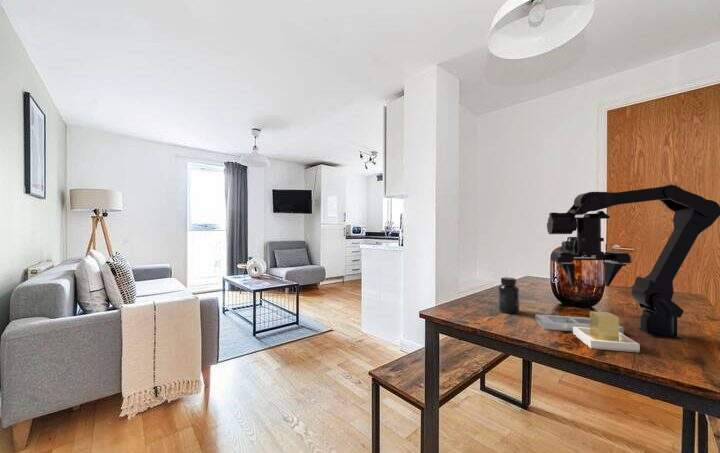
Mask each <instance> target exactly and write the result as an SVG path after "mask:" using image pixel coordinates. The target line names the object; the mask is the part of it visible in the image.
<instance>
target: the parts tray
mask: <svg viewBox="0 0 720 453" xmlns="http://www.w3.org/2000/svg"><path fill="white" fill-rule="evenodd" d="M572 334H573V335H574V336H575V335H576V336H575V337H577V338H578V339H579V340H580V341H581V342H583V343H584V344H585V345H586V346H587V345H588V346H587V347H588V348H590V349H593V348H594V349H595V350H605V351H617V352H618V351H619V352H631V353H639V354H640V352H641V351H640V350H641V349H640V347H641V346H640V343H639V342H636V341H635V340H634V339H631V338H630V337H628V336H627V335H625V334H624V335H623V334H622V333H620V332H619V342H617V341H604V340H594V339H593V338H591V337H590V328H586V327H573V331H572Z"/></svg>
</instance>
